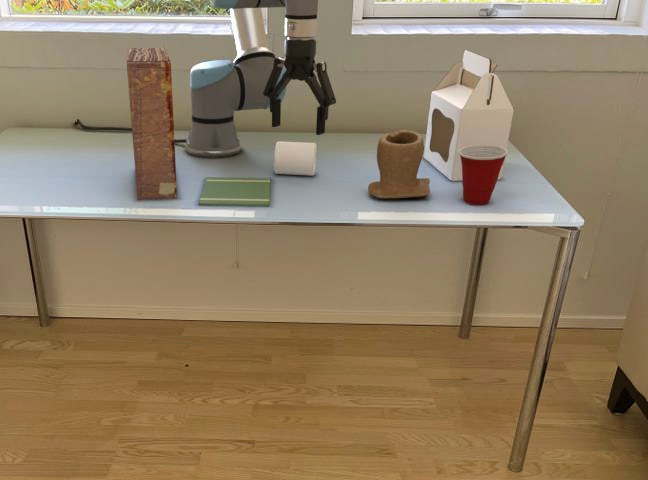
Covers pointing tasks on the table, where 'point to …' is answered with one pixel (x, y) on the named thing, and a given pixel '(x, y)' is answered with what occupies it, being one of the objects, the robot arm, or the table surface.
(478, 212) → the table surface
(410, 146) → the stone cup
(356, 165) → the table surface
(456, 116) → the gable box
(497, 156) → the plastic cup
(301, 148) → the mug
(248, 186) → the cloth
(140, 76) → the book
